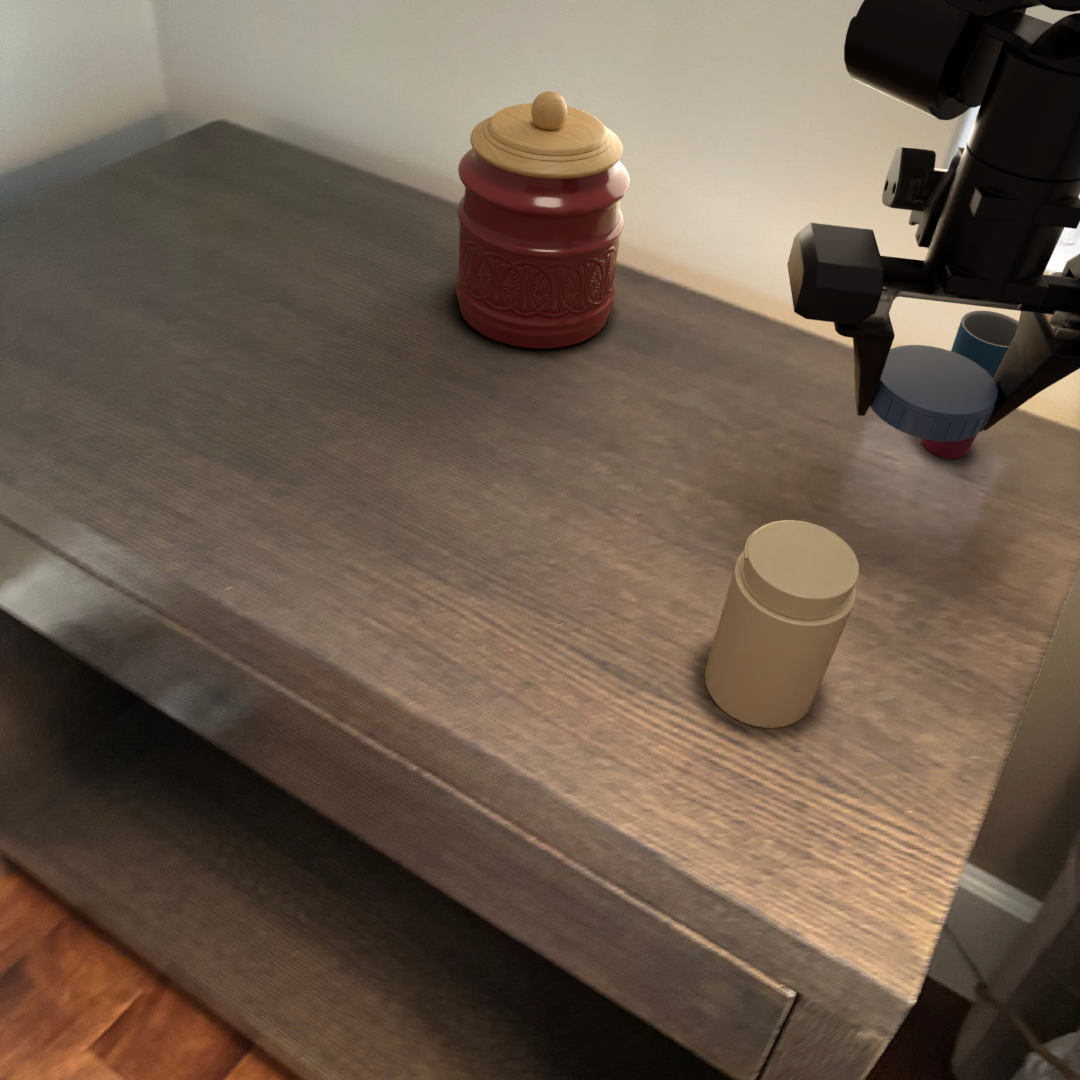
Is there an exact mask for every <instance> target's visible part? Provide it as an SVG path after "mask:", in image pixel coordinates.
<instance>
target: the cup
mask: <svg viewBox="0 0 1080 1080" xmlns="http://www.w3.org/2000/svg"><path fill="white" fill-rule="evenodd" d="M1018 323H1019V320H1017V319H1015V318H1014V317H1011V316H1009V315H1006V314H1003V313H1001V312H997V311H991V310H973V311H970V312H966V313H965V314H964V315H963V316H962V318H961V319H960V323H959V325H958V328H957V331H956V335H955V337H954V340H953V343H952V347H951V350H950V351H952V352H954V353H957V354H959V355H962V356H964V357H966V358H968V359H970V360H971V361H973V362H975V363H976V364H978V365H979V366H981V367H982V368H983V369H984V370H985V371H986V372H987V373H988V374H989V375H990V376H991V377H992V378H994V376H995V374H996V372H997V370H998V368H999V366H1000V364H1001V362H1002V360H1003V358H1004V356H1005V354H1006V352H1007V351H1008V349H1009V347H1010V345H1011V343H1012V341H1013V340H1014V337H1015V334H1016V331H1017V327H1018ZM977 435H978V434H976V435H975V436H973V437H971V438H968V439H965V440H961V441H953V442H942V441H932V440H927V439H922V438H921V443H922V446H923V447H924V448H925V449H926V450H927V451H928V452H930V453H931V454H933V455H935V456H937V457H940V458H943V459H947V460H956V459H957V460H958V459H961V458H964V457H965V456H966V455H967V453H968V452H969V450H970V448H971V447H972V445H973V443H974V441H975V439H976V437H977Z"/></svg>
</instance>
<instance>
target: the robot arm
mask: <svg viewBox="0 0 1080 1080" xmlns="http://www.w3.org/2000/svg"><path fill="white" fill-rule="evenodd" d="M1040 6H1041V7H1042V6H1044V7H1045V8H1048V9H1051V10H1053V11H1062V12H1071V14H1067V15H1065V16H1063V17H1061V18H1059V19H1058V20H1057V21H1055V22H1054V23H1052V22H1048V21H1045V20H1042V19H1040V18H1037V17H1034V16H1032V15H1029V14H1026V11H1027V9H1029V8H1036V7H1040ZM1079 11H1080V0H863V1H862V3H861V4H860V6H859V9H858V11H857V13H856V15H855V16H852V18H851V19H850V21H849V24H848V27H847V29H846V30H847V31H846V34H845V38H844V46H843V61H844V65H845V70H846V72H847V73H848V75H849V76H850V78H851V79H853V80H854V81H856V83H857V82H858V83H860V84H862V85H864V86H866V87H869V88H871V89H873V90H875V91H877V92H879V93H881V94H883V95H885V96H888V97H890V98H892V99H894V100H896V101H899V102H901V103H902V104H905V105H907V106H910V107H911V108H913V109H915V110H918V111H920V112H922V113H924V114H926V115H929V116H931V117H933V118H935V119H937V120H939V121H940V120H941V121H951V120H954V119H956V118H958V117H960V116H962V115H963V114H965V113H966V112H968V110H970V109H971V108H972V109H975V108H978V107H979V108H978V111H977V114H976V117H975V119H974V122H973V125H972V128H971V130H970V133H969V136H968V139H967V141H966V144H965V146H964V147H962V146H961V147H960V146H958V147H957V149H956V152H955V153H954V155H953V156H952V158H951V161H950V164H949V166H948V169H946V168H939V167H936V159H937V152H936V151H934V150H932V149H926V148H917V147H909V146H908V147H907V146H899V145H896V148H895V149H894V153H893V156H892V158H891V161H890V164H889V166H888V170H887V173H886V177H885V181H884V185H883V190H882V194H881V203H882V204H883V205H884V206H885V207H888V208H890V209H897V210H898V209H899V210H905V211H910V215H909V219H908V225H909V226H916V225H917V229H916V232H915V234H914V238H915V241H916V244H917V247H919V248H925V249H927V251H926V254H925V257H924V260H922V259H913V258H905V257H896V256H888V255H881V252H880V250H879V246H878V242H877V239H876V235H875V232H874V229H872V228H863V227H853V226H845V225H836V224H829V223H828V224H827V223H819V222H809V223H808V224H806V225H805V226H804V227H803V228H801V229H800V230H799V231H798V232H797V233H796V235H795V236H794V237H793V241H792V245H791V249H790V253H789V256H788V259H787V265H786V266H787V273H788V278H789V279H788V280H789V286H790V293H791V299H792V306H793V312H794V313H795V314H797V315H798V316H800V317H802V318H803V319H805V320H811V321H819V322H828V323H833V325H834V330H835V332H836V333H837V334H838V335H839V336H842V337H844V338H852V345H853V368H854V369H853V370H854V371H853V372H854V395H855V396H854V399H855V400H854V401H855V410H856V414H857V416H859V417H865V415H866V414H867V413H868V411H869V409H870V408H871V407H870V405H871V404H872V402H873V399H874V396H875V393H876V390H877V387H878V384H879V381H880V378H881V375H882V372H883V369H884V366H885V363H886V360H887V358H888V355H889V352H890V349H891V348H892V345H893V343H894V339H895V337H896V334H895V331H894V327H893V323H892V319H891V317H890V311H891V309H892V306H893V303H894V301H895V299H897V298H907V299H917V300H925V301H933V302H941V303H949V304H959V305H965V306H966V305H967V306H975V307H984V308H992V309H1001V310H1011V311H1019V312H1020V314H1019V317H1018V321H1019V323H1018V327H1017V331H1016V334H1015V337H1014V340H1013V341H1012V343H1011V345H1010V347H1009V349H1008V351H1007V352H1006V354H1005V356H1004V358H1003V360H1002V362H1001V364H1000V366H999V368H998V370H997V372H996V374H995V376H994V378H993V380H994V381H995V384H996V386H997V389H998V396H997V400H996V402H995V404H994V405H995V408H994V410H993V412H992V414H991V416H990V418H989V421H988V423H987V425H986V424H985V426H984V428H983V430H982V432H983V431H984V432H985V431H988V430H989V429H990V428H992V427H993V426H994V425H996V424H997V423H999V422H1000V421H1001V420H1002V419H1004V418H1005V417H1007V416H1008V415H1010V414H1011V413H1013V412H1014V411H1015V410H1017V409H1018V408H1019V407H1020V406H1023V405H1024V404H1025V403H1026V402H1028V401H1029V400H1030V399H1032V398H1034V397H1035V396H1037V395H1038V394H1039V393H1040V392H1041V393H1042V391H1044V390H1046V389H1047V388H1049V387H1051V386H1053V385H1054V384H1056V383H1057V382H1060V381H1061V380H1063V379H1064V378H1066V377H1068V376H1069V375H1071V374H1073V373H1075V372H1076V371H1078V370H1079V369H1080V253H1078V254H1076V255H1075V256H1073V257H1072V258H1070V259H1068V260H1067V261H1066V263H1065V265H1064V267H1063V269H1062V271H1052V272H1051V271H1050V272H1049V273H1048V274H1044V273H1045V271H1046V269H1047V267H1048V265H1049V263H1050V260H1051V258H1052V257H1053V253H1054V252H1055V249H1056V247H1057V245H1058V244H1059V243H1058V242H1059V240H1060V238H1061V236H1062V234H1063V232H1064V229H1066V228H1067V229H1075V230H1077V229H1078V226H1079V225H1080V197H1079V196H1080V12H1079Z"/></svg>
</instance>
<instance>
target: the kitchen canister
mask: <svg viewBox="0 0 1080 1080" xmlns="http://www.w3.org/2000/svg"><path fill="white" fill-rule="evenodd" d="M469 139H470V140H469V141H470V145H471V147H472V148H470V149H469V150H468V151H466V152H465V154H463V156H461V158H460V161H459V163H458V166H457V172H458V173H457V174H458V177H459V179H460V181H461V184H463V186H464V194H463V196H462V197H461V199H460V201H459V203H458V205H457V216H458V220H459V238H458V270H457V273H456V278H455V284H456V286H455V293H456V298H457V301H458V307H459V312H460V314H461V316H462V318H463V319H464V321H466V323H467V324H468V325H469V326H470V327H472V329H474V330H476V331H477V332H478V333H480V334H481V335H484V336H485V337H487V338H490V339H491V340H494V341H496V342H499V343H503V344H506V345H509V346H515V347H520V348H527V349H556V348H557V349H558V348H562V347H563V348H565V347H568V346H573V345H576V344H579V343H583V342H584V341H586V340H589V339H591V338H592V337H594V336H595V335H597V334H598V333H599V332H600V331H601V330H602V329H603V328H604V327H605V325H606V323H607V321H608V319H609V315H610V313H611V311H612V309H613V305H614V298H615V292H616V290H615V283H614V282H615V276H616V268H617V261H618V260H617V259H618V254H619V247H620V239H621V234H622V233H623V231H624V226H625V217H624V214H623V212H622V210H621V200H622V199H623V198H624V197H625V195H626V194H627V193H628V191H629V188H630V185H631V184H630V183H631V178H630V174H629V171H628V170H627V168H626V167H625V165H623V163H622V162H621V161H620V160H621V158H622V156H623V152H624V147H623V143H622V141H621V139H620V138H619V136H618V135H616V133H615V132H613V131H612V130H611V129H609V128H608V127H607V126H605V125H604V123H603V122H602V121H601V120H600V119H598V118H597V117H596V116H594V115H593V114H590V113H588V112H586V111H584V110H582V109H579V108H575V107H571V106H567V102H566V100H565V98H564V97H563V96H562V95H561V94H560V93H558V92H555V91H553V90H552V91H551V90H547V91H543V92H540V93H539V94H537V96H535V98H534V100H533V102H531V103H530V102H529V103H520V104H516V105H511V106H508V107H504V108H502V109H500V110H498V111H496V113H494V114H493V115H492V116H490V117H487V118H485V119H484V120H482V121H480V122H478V123H477V125H475V126H474V127H473V128H472V130H471V132H470V137H469Z"/></svg>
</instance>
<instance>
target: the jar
mask: <svg viewBox="0 0 1080 1080" xmlns="http://www.w3.org/2000/svg"><path fill="white" fill-rule="evenodd" d="M731 575H732V576H731V579H730V582H729V586H728V589H727V593H726V595H725V600H724V603H723V606H722V610H721V613H720V617H719V620H718V623H717V627H716V631H715V634H714V637H713V641H712V644H711V648H710V651H709V654H708V657H707V662H706V665H705V669H704V682H705V686H706V689H707V691H708V694H709V695H710V697H711V699H712V700H713V701H714V703H715V704H716V705H717V706H718V707H719V708H720V709H721V710H722V711H723V712H725V713H726V714H727V715H728V716H730V717H732V718H733V719H735V720H737V721H739V722H741V723H743V724H746V725H749V726H753V727H756V728H757V727H758V728H764V729H776V728H778V729H779V728H783V727H787V726H790V725H792V724H796V723H797V722H798V721H800V720H801V719H803V718H804V717H805V716H806V715H807V713H809V711H810V710H811V707H812V705H813V703H814V701H815V698H816V696H817V693H818V692H819V689H820V687H821V684H822V682H823V679H824V676H825V675H826V672H827V669H828V667H829V665H830V662H831V660H832V657H833V655H834V652H835V650H836V649H837V646H838V644H839V641H840V639H841V636H842V634H843V632H844V629H845V627H846V624H847V622H848V620H849V617H850V615H851V613H852V611H853V608H854V605H855V603H856V599H857V587H856V584H857V582H858V580H859V579H858V578H859V575H860V566H859V561H858V558H857V556H856V553H855V552H854V551H853V548H851V546H850V545H849V544H848V543H847V542H846V540H844V539H843V538H841V537H840V536H839V535H837V534H836V533H834V532H833V531H831V530H830V529H827V528H825V527H823V526H821V525H818V524H815V523H812V522H808V521H803V520H794V519H784V520H776V521H771V522H769V523H766V524H763V525H762V526H760V527H759V528H758V529H756V530H753V531H752V532H751V533H750V535H749V536H748V537H747V538H746V542H745V544H744V547H743V551H742V552H741V553H740V555H739V556H738V557H737V560H736V561H735V564H734V568H733V572H732V574H731Z"/></svg>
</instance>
